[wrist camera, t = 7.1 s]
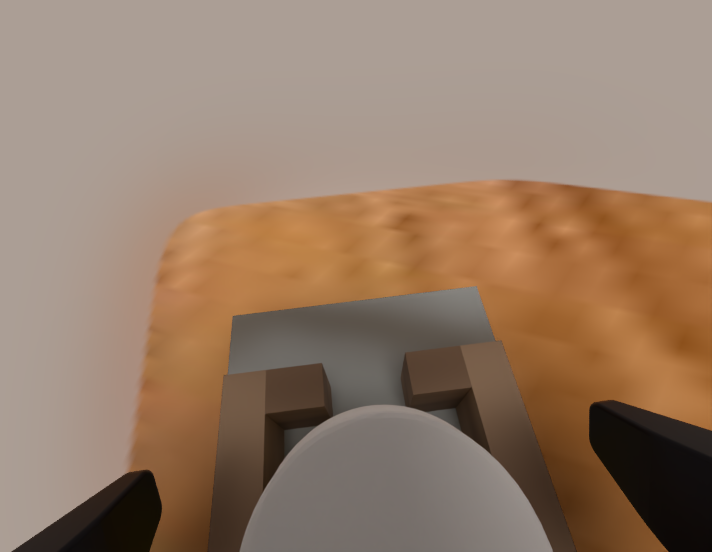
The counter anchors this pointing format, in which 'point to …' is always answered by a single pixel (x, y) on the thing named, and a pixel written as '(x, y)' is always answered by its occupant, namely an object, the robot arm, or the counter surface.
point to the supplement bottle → (392, 491)
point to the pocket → (368, 392)
